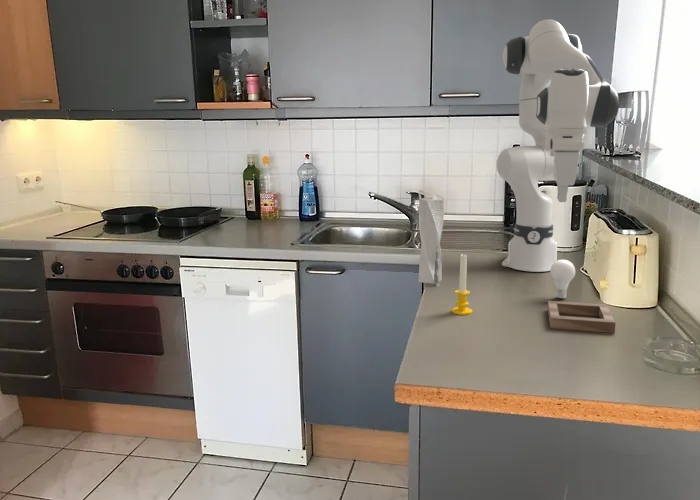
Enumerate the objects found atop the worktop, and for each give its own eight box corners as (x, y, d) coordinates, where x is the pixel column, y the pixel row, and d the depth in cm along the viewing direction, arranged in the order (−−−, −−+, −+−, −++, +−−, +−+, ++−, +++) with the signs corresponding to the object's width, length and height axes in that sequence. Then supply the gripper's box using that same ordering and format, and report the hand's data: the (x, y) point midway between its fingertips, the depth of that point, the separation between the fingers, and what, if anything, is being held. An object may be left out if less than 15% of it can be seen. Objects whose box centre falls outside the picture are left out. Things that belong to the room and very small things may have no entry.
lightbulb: (553, 294, 168) (556, 256, 166) (576, 298, 164) (579, 259, 162) (545, 299, 163) (547, 260, 161) (568, 303, 159) (571, 263, 157)
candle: (474, 314, 151) (476, 254, 148) (454, 315, 151) (456, 255, 148) (469, 308, 156) (471, 250, 153) (449, 309, 156) (450, 250, 153)
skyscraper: (411, 285, 179) (412, 191, 173) (421, 279, 186) (422, 188, 180) (438, 288, 175) (440, 193, 169) (447, 282, 182) (449, 189, 176)
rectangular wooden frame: (547, 310, 154) (548, 300, 154) (605, 314, 151) (606, 304, 150) (550, 328, 141) (551, 318, 140) (614, 332, 137) (615, 322, 137)
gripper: (549, 139, 149) (546, 195, 152) (553, 143, 130) (549, 206, 132) (576, 139, 147) (572, 196, 150) (584, 143, 128) (579, 207, 131)
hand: (561, 201), depth 141 cm, fingers closed
